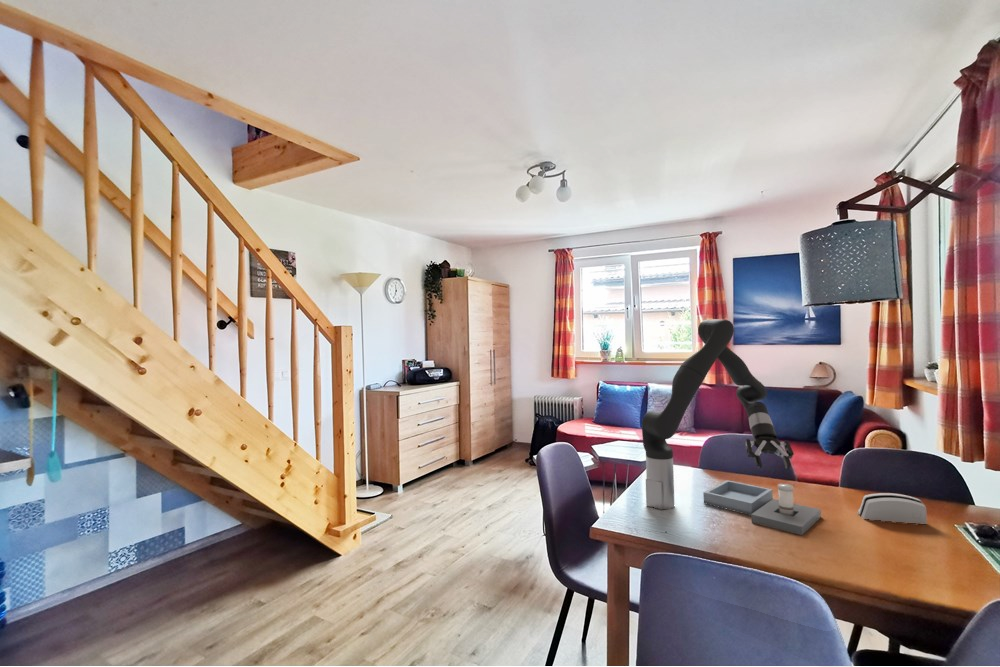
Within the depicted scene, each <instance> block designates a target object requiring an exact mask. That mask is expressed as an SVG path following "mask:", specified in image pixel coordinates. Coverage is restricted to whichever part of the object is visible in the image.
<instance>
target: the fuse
mask: <svg viewBox="0 0 1000 667" xmlns="http://www.w3.org/2000/svg"><path fill="white" fill-rule="evenodd" d="M777 489H778V490H777V491H778V500H779V513H781V514H785V515H789V516H794V510H793V509H794V507H793V503H794V486H793V485H792V484H789V483H777Z"/></svg>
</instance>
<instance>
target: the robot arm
mask: <svg viewBox="0 0 1000 667" xmlns="http://www.w3.org/2000/svg"><path fill="white" fill-rule="evenodd" d="M697 327H698V328H697V333H698V336H699V338H700V340H701V341H702V343H703V344H704V345H703V346H702V348H700V349H699V350H698V351H696V352H694V354H692V355H691V356H689V357H688V358H687V359H686V360H684V361H683V363H681V365H680V366H679V368H678V370H677V371H676V373H675V375H673V376H674V377H673V379H672V383H671V384H672V386H671V396H670V399H669V401H668V403H667V404H666V406H665V408H664V409H663V411H658V410H649V411H647V412H646V413H645V414H644V415H643V417H642V420H641V432H642V436H641V437H642V444H643V445H642V446H643V449H644V451H645V471H646V472H645V473H646V474H645V475H646V476H645V477H646V478H645V502H646V503H645V504H646V505H647V507H649V508H653V507H654V509H657V508H658V509H657V510H660V509H663V510H668V509H669V508H670V509H673V508H675V506H674V505H675V480H674V479H675V478H674V451H673V448H671V446H670V445H669V444H668V443H667V440H668V439H671V438H672V437H673V436H674V435H675V434H676V432H677V430H678V428H679V427H680V424H681V422H682V420H683V418H684V415H685V414H686V410H687V409H688V407H689V406H690V404H691V402H692V401H693V399H694V396H695V395H696V393H697V392H698V391H699V389H700V387H701V385H702V384H703V382H704V380H705V378H706V376H707V375H708V373H709V371H710V370H711V369H712V367H713V366H714V364H715V362H716V361H717V360H718V361H719V362H720V364H722V366H723V368H724V369H725V370H726V372H727V374H728V376H729V377H730V379H731V381H732V382H733V384H735V385H737V386H738V388H737V389H736V391H735V394H736V397H737V399H738V400H739V402H740V403H741V404H742V406H743V408H744V409H745V411H746V414H747V418H748V424H749V429H750V431H751V435H752V438H753V440H750V439H749V438H748V439H746V440H745V443H744V445H745V449H746V455H747V457H748V458H753V459H754V463H755V466H756V467H758V469H761V468H762V467H763V464H762V461H761V456H760V455H761V454H762V453H763V454H773V455H774V454H775V455H777V456H778V457H780V458H782V461H783V464H784V468H785V469H786V470H790V467H792V466H791V464H792V463H791V461H790V460H792V458H793V456H794V454H795V453H794V451H793V448H792V447H791V443H790V442H789V440H786V439H785V440H784V441H780V440H779V439H778V437H777V433H776V430H775V427H774V424H773V421H772V419H771V417H770V414H769V411H768V408H767V406H766V404H765V403H764V402H763V401H761V400H764V399H766V398H767V395H768V391H767V389H766V386H765V385H764V384H763V383H762V382H761V381H760V380H758V378H756V377H755V376H754V375H753V374H752V373H751V371H750V370H749V368H748V366H747V365H746V362H745V361H744V360H743V359H742V358H741V357H740V356H739V355H738V354H736V353H735V352H734V351H732V350H731V348H729V347H728V344H729V343H730V342H731V341H732V339H733V338H732V337H733V336H734V333H735V329H734V323H732V322H731V321H730V320H728V319H723V318H719V319H718V318H716V319H715V318H713V319H712V318H709V319H704V320H702V321H701V322H700V323H699V325H698V326H697ZM753 446H754V447H755V448H756V450H755V452H753V449H752V448H753Z"/></svg>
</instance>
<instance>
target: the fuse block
mask: <svg viewBox="0 0 1000 667" xmlns="http://www.w3.org/2000/svg"><path fill="white" fill-rule="evenodd" d="M793 507H794V509H793V510H794V516H789V515H785V514H781V513H779V499H774V498H773V499H772V500H771V501H769V502H768V503H767V504H765V505H764V506H762V507H761V508H759V509H758V510H757V511H755V512H754V513H752V514H751V515H750V517H751V518H750V519H751V522H750V523H753V524H756V525H760V526H765V527H768V528H772V529H776V530H781V531H783V532H787V533H792V534H795V535H799V536H803V535H804V534H805V533H806V532H808V531H809V530H810V528H811V527H813V525H814V524H816V523H817V522H818V520H820V519H821V518H822V512H821V511H822V510H821V508H817V507H811V506H807V505H803V504H797V503H794V502H793Z"/></svg>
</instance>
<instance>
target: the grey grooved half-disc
mask: <svg viewBox="0 0 1000 667" xmlns="http://www.w3.org/2000/svg"><path fill="white" fill-rule="evenodd" d="M858 514H859V515H860V519H862V518H863V519H870V520H869V521H874V520H881V521H880V522H885V521H894V522H893V523H896V522H907V523H921V524H927V521H928V520H927V517H928V516H927V507H926V505H925V504H924V503H923V501H922V500H920V499H919V498H917V497H914V496H910V495H905V494H903V493H902V494H901V493H892V492H879V493H878V492H877V493H870V494H865V495H864V496H863V498H862V501H861V504H860V507H859V509H857V515H858ZM863 519H862V520H863ZM907 523H906V524H907Z"/></svg>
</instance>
